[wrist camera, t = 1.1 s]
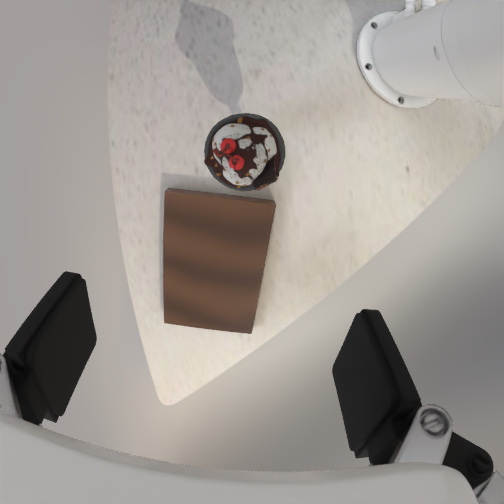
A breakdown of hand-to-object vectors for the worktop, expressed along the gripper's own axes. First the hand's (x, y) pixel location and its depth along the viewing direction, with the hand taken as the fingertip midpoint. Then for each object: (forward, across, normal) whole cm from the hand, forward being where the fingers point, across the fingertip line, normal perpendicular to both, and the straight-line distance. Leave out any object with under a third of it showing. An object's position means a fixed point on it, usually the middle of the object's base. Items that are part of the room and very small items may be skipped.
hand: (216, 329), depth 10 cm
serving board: (+28, +2, +14) cm, 31 cm away
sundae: (+28, 0, -3) cm, 28 cm away
